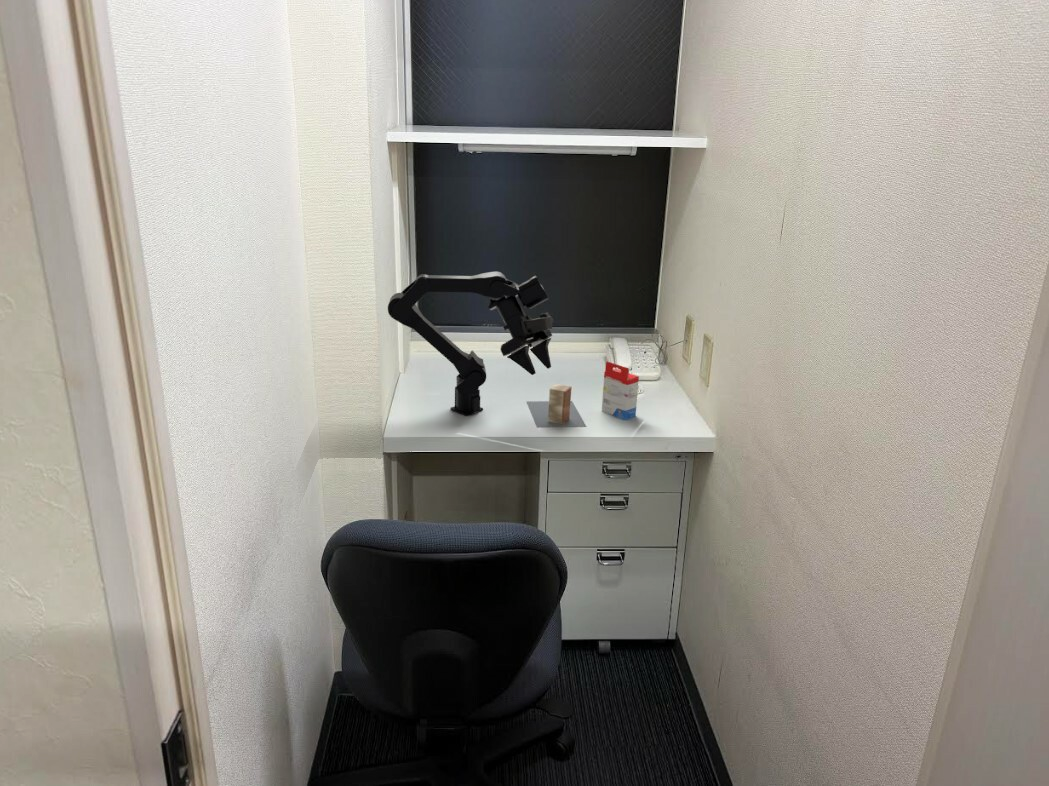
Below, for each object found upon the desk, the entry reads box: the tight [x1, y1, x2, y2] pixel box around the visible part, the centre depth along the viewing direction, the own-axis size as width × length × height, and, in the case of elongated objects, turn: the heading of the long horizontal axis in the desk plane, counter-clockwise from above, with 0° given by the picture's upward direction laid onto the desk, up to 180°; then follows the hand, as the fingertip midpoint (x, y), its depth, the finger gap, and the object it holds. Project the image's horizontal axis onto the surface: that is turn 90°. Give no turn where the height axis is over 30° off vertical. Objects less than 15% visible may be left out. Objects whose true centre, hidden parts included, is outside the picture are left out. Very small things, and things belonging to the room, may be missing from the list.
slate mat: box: [526, 400, 587, 429], centre depth 212 cm, size 19×13×1 cm
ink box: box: [601, 361, 640, 421], centre depth 212 cm, size 8×5×15 cm, turn 43°
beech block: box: [548, 383, 572, 424], centre depth 206 cm, size 4×4×9 cm
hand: (541, 371), depth 203 cm, fingers open, 9 cm apart
